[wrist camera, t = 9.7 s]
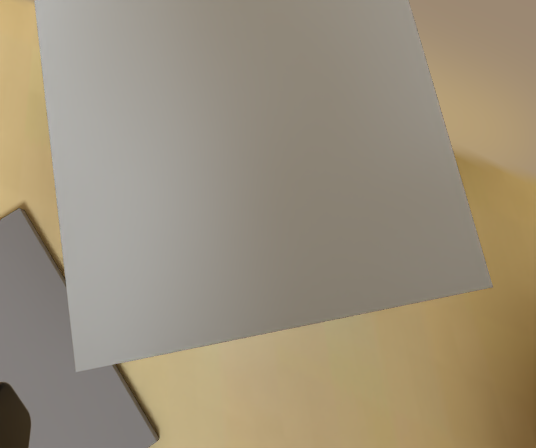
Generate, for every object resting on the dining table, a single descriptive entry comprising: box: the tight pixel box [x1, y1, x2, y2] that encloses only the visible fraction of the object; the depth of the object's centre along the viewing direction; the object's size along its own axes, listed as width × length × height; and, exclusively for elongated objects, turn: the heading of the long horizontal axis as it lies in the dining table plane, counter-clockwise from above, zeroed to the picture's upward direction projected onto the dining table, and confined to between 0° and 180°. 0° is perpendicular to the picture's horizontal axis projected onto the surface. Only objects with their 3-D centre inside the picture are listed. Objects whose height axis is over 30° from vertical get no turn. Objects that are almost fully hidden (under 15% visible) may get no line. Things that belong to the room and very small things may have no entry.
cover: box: [34, 0, 493, 372], centre depth 14 cm, size 7×7×12 cm
